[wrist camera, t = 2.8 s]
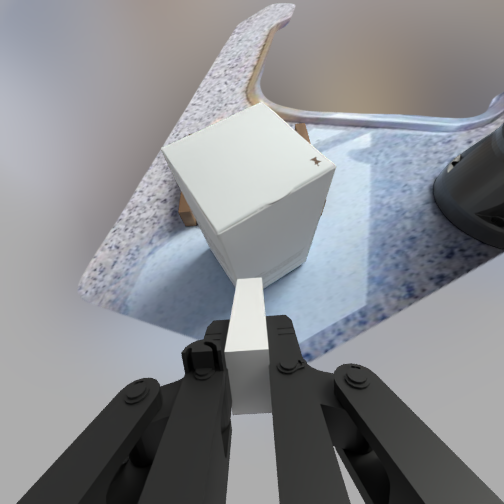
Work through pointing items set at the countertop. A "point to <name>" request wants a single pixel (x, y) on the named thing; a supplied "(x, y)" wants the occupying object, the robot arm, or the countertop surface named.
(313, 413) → the robot arm
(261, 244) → the supplement box
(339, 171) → the countertop surface
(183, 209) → the rails
